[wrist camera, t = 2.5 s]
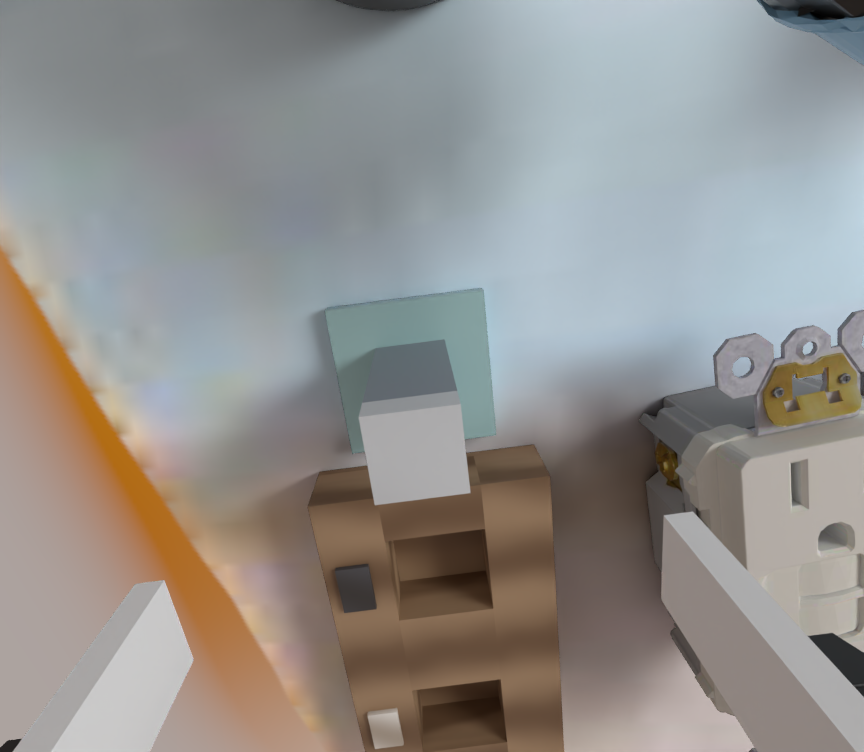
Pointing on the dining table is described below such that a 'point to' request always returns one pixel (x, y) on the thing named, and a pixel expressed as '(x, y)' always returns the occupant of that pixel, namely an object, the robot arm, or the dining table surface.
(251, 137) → the dining table surface
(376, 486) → the plug
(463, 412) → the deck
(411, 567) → the socket board
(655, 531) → the electrical outlet
